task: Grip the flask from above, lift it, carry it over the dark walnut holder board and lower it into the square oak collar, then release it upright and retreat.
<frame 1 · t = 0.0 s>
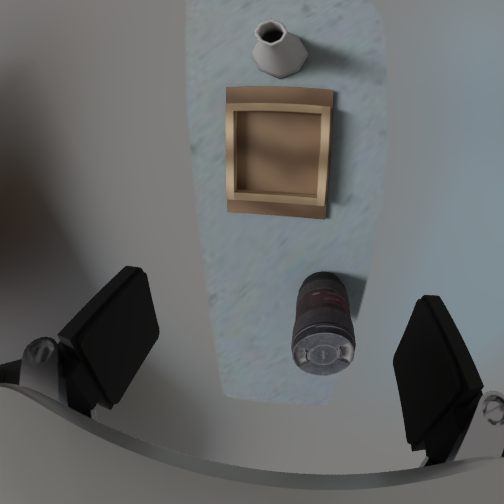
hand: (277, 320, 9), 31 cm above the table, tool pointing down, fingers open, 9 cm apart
shaker holder: (278, 151, 36), on the table
camera lens: (321, 287, 44), on the table
flask: (279, 54, 30), on the table
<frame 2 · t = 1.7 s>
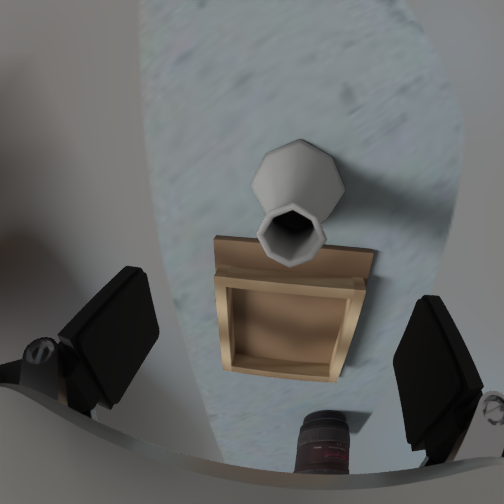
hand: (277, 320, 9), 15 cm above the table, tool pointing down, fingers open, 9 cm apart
shaker holder: (287, 320, 28), on the table
camera lens: (324, 418, 37), on the table
flask: (298, 184, 22), on the table
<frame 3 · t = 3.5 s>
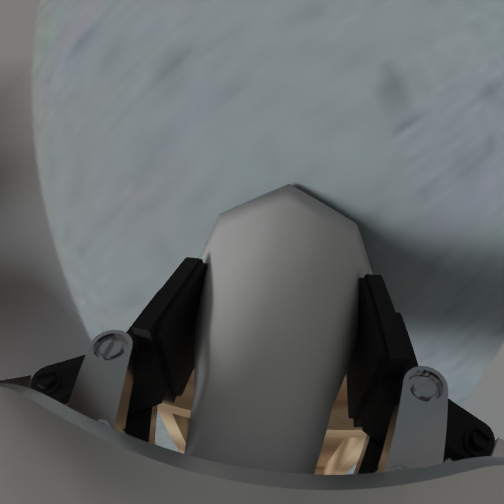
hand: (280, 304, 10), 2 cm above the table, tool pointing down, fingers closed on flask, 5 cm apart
shaker holder: (268, 431, 18), on the table
flask: (285, 272, 12), on the table, touching gripper
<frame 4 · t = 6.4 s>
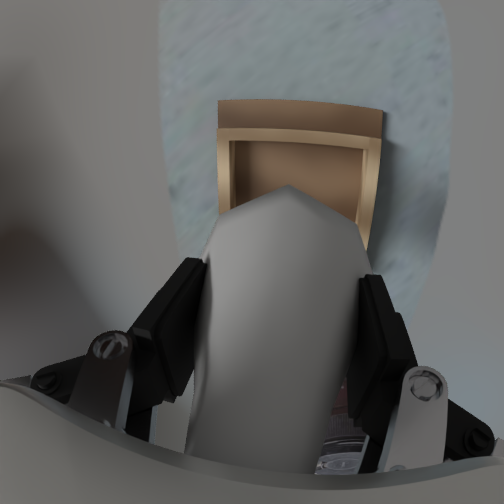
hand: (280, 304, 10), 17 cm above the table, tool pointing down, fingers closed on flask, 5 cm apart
shaker holder: (296, 199, 25), on the table
camera lens: (342, 362, 34), on the table
flask: (285, 272, 12), point 15 cm above the table, touching gripper
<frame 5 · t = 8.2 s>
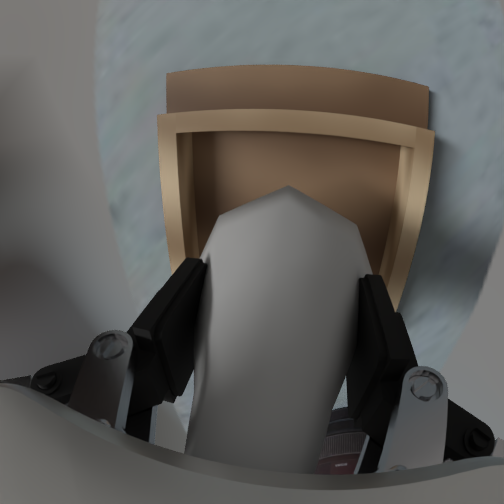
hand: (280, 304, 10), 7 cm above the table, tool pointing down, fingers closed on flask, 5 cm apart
shaker holder: (292, 226, 16), on the table
camera lens: (346, 419, 25), on the table
flask: (285, 273, 12), point 5 cm above the table, touching gripper
when the fingers open (4 cm above the table, at t = 9.6 s): flask drops 1 cm, resting on shaker holder.
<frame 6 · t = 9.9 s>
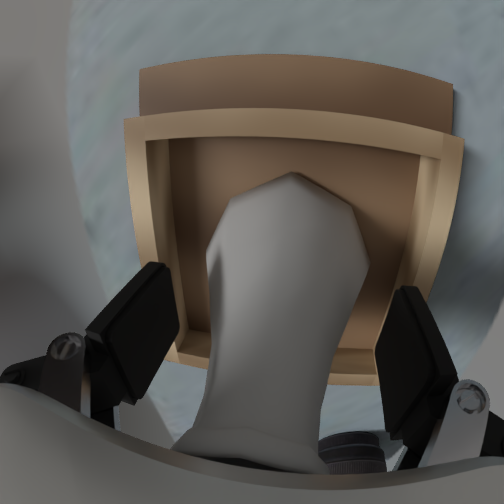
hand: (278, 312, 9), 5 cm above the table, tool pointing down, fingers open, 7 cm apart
shaker holder: (288, 249, 14), on the table
camera lens: (346, 442, 22), on the table
flask: (288, 251, 13), point 1 cm above the table, touching shaker holder
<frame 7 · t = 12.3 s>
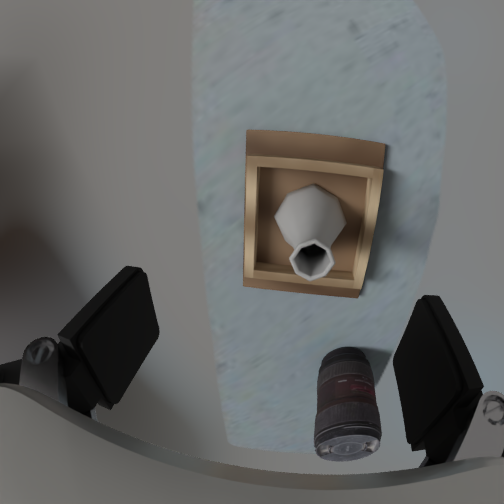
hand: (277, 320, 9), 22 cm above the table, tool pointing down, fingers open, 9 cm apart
shaker holder: (310, 218, 30), on the table
camera lens: (343, 360, 38), on the table
flask: (310, 218, 29), point 1 cm above the table, touching shaker holder
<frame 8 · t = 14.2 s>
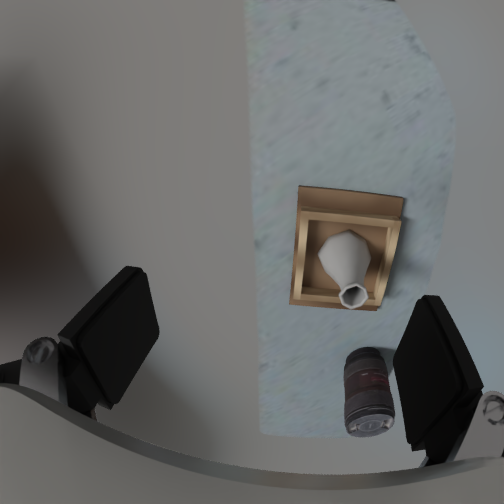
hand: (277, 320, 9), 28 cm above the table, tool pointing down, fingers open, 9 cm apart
shaker holder: (343, 253, 38), on the table
camera lens: (363, 358, 46), on the table
flask: (344, 254, 37), point 1 cm above the table, touching shaker holder
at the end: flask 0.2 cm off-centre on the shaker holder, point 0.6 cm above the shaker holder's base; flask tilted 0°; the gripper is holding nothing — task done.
